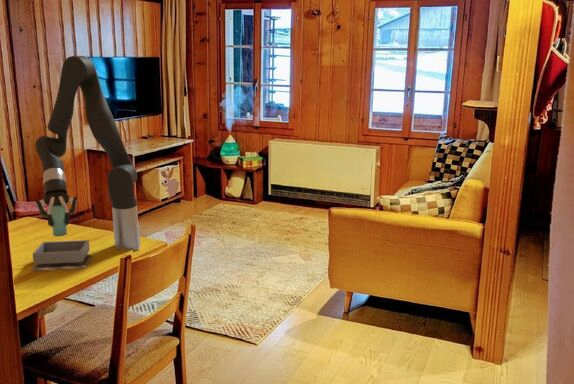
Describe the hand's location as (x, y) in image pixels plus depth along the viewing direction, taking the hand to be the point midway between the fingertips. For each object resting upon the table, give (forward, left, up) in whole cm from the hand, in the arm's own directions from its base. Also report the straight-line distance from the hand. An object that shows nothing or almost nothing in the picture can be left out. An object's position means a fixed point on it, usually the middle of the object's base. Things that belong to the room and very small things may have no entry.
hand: (59, 224), depth 182 cm
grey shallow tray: (0, -2, -15) cm, 15 cm away
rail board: (0, -2, -16) cm, 16 cm away
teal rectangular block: (+1, -2, -4) cm, 4 cm away
